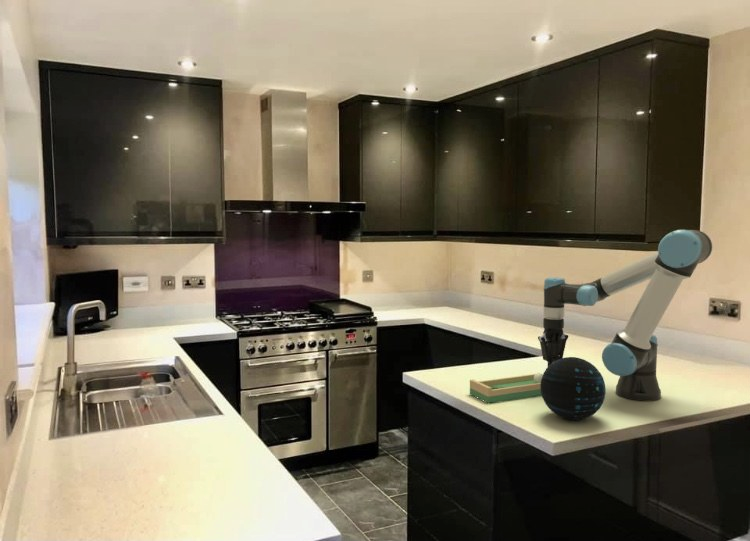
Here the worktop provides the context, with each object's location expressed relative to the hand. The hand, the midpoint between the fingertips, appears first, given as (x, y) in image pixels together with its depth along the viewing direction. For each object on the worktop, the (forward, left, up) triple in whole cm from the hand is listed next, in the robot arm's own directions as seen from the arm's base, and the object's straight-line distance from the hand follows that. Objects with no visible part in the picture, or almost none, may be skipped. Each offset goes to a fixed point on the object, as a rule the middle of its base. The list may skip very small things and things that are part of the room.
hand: (552, 378), depth 219 cm
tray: (0, +17, -4) cm, 18 cm away
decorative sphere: (-30, +17, -4) cm, 35 cm away
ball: (0, +6, +1) cm, 7 cm away
